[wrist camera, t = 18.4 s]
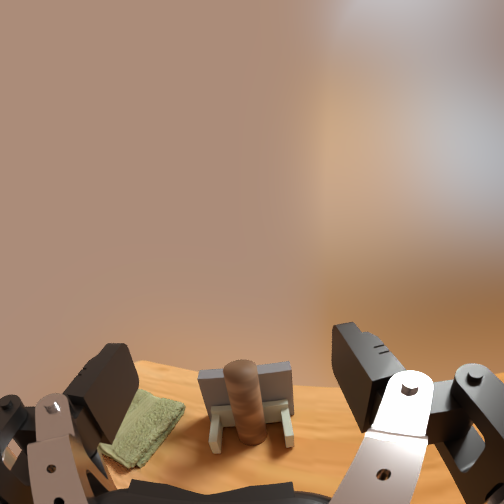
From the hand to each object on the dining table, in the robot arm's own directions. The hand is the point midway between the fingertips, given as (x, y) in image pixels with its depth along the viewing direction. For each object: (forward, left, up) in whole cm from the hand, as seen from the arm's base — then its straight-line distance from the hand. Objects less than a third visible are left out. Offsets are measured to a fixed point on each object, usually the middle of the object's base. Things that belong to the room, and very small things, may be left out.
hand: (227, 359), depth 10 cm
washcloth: (-22, +22, -30) cm, 43 cm away
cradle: (-2, +21, -29) cm, 36 cm away
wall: (-2, +26, -29) cm, 39 cm away
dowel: (-2, +21, -29) cm, 36 cm away
